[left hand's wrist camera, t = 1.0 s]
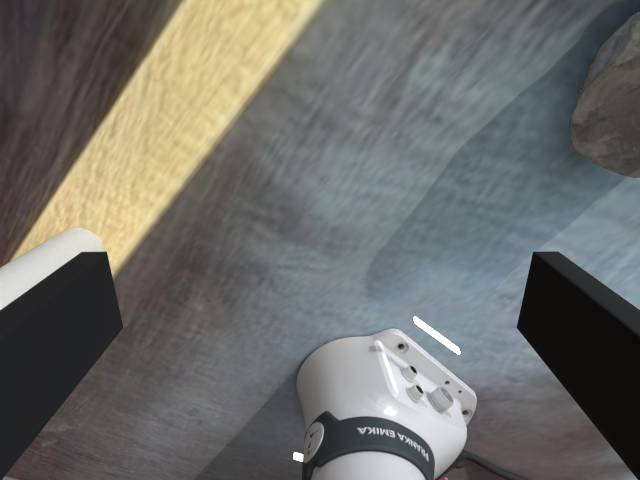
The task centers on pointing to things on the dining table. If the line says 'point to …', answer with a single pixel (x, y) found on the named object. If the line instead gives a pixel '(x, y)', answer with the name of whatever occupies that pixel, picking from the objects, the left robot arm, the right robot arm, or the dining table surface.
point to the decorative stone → (611, 104)
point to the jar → (44, 262)
